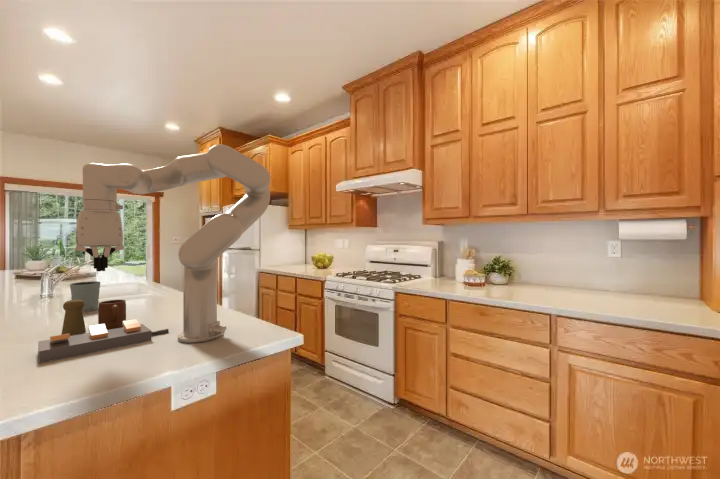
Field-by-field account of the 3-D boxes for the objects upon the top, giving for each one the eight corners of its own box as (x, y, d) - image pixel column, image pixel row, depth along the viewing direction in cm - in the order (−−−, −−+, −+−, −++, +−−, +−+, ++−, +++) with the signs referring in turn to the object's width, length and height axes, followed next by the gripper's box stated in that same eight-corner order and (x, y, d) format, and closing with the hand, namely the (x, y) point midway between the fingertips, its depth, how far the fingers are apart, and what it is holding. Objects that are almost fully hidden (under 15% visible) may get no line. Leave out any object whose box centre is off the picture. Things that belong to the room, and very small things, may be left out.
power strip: (163, 329, 107) (163, 320, 107) (173, 335, 100) (173, 326, 100) (38, 352, 85) (38, 341, 85) (39, 363, 78) (39, 351, 78)
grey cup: (96, 306, 143) (96, 280, 143) (103, 309, 138) (103, 282, 138) (67, 310, 135) (67, 283, 135) (73, 313, 129) (73, 285, 129)
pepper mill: (71, 330, 105) (71, 298, 105) (90, 330, 106) (90, 298, 106) (55, 336, 99) (55, 302, 99) (76, 335, 100) (76, 301, 100)
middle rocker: (104, 329, 94) (104, 323, 93) (107, 338, 90) (107, 332, 89) (88, 331, 91) (88, 326, 91) (91, 341, 87) (91, 335, 87)
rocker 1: (68, 340, 88) (67, 333, 88) (69, 340, 84) (69, 333, 84) (50, 343, 85) (50, 336, 85) (51, 343, 81) (51, 336, 81)
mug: (130, 331, 105) (130, 303, 105) (101, 336, 100) (101, 306, 100) (123, 324, 113) (123, 298, 113) (96, 328, 108) (96, 301, 108)
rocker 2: (136, 324, 99) (136, 318, 99) (140, 331, 95) (141, 326, 95) (122, 326, 97) (122, 321, 97) (126, 334, 93) (126, 328, 93)
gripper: (129, 210, 97) (129, 268, 97) (63, 206, 86) (63, 272, 86) (134, 208, 92) (135, 269, 92) (65, 204, 81) (66, 274, 81)
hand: (100, 270), depth 89 cm, fingers closed
